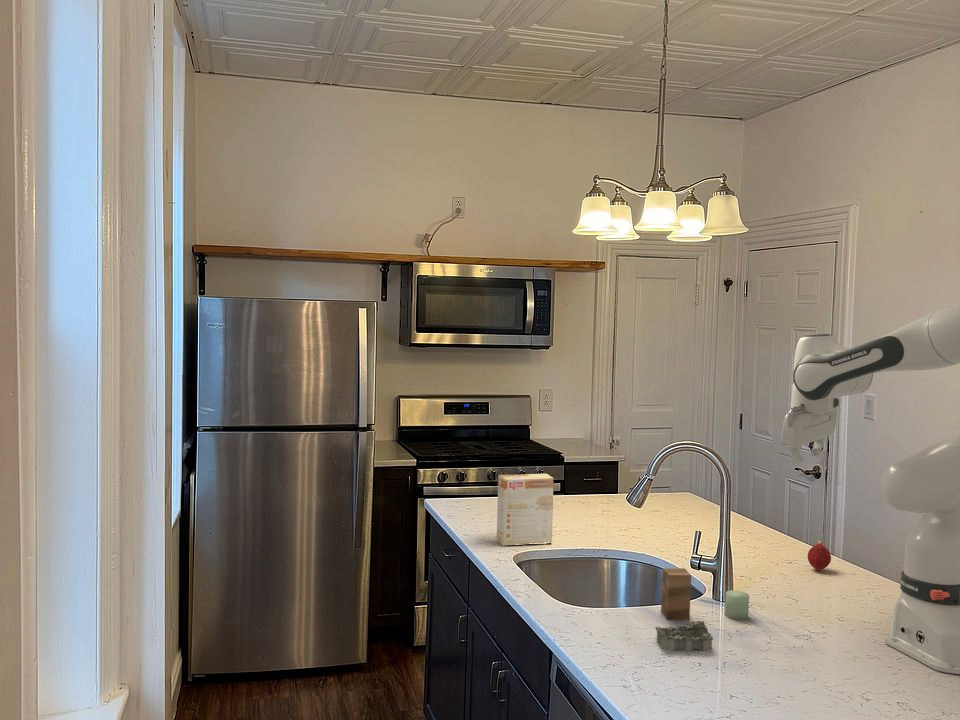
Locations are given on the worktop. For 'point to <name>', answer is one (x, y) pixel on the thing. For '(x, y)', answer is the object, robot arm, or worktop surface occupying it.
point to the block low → (675, 607)
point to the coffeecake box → (524, 509)
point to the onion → (819, 556)
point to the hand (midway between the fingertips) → (806, 459)
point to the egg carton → (685, 637)
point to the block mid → (676, 582)
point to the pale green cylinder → (737, 605)
